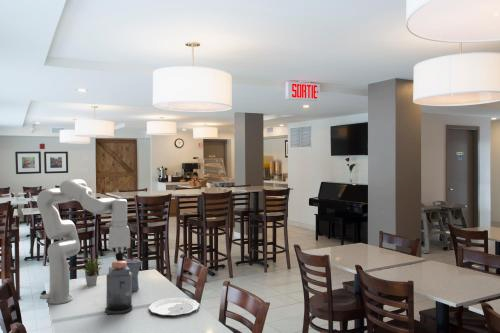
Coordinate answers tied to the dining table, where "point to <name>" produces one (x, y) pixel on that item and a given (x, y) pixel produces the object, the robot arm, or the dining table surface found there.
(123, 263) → the pink rounded piece
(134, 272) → the moka pot
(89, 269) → the house plant
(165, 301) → the plate
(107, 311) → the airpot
